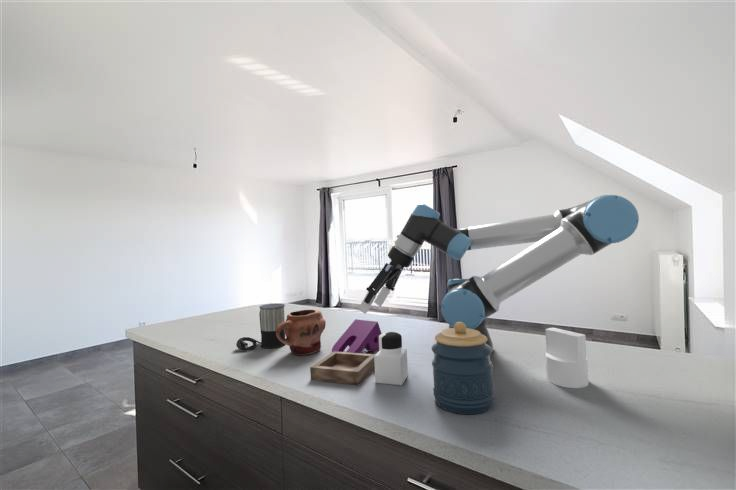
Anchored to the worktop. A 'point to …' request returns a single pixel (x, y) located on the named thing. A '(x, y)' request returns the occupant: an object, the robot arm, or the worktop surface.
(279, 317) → the milk frother
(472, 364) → the canister
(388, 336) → the medicine bottle
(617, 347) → the worktop surface
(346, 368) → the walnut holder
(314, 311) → the terracotta mug
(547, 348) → the base with upright slab
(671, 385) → the worktop surface
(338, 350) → the mounting bracket
